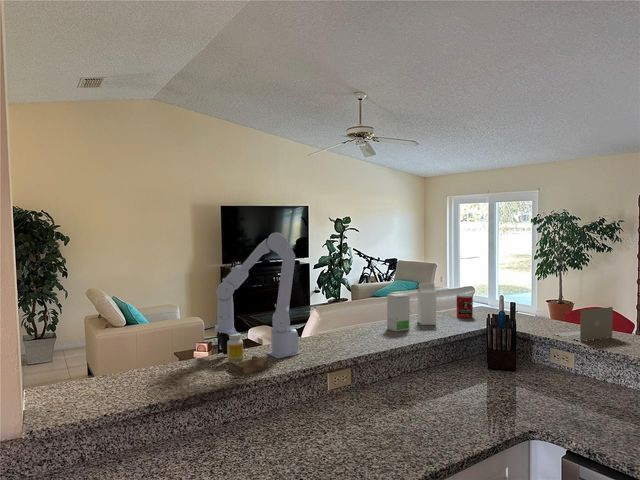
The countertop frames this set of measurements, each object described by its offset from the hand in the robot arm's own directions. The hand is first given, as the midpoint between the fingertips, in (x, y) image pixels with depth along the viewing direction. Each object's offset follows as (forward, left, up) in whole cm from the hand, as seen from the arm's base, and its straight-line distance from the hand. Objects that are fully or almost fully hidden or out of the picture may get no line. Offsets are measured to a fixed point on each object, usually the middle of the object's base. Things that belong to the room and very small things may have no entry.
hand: (226, 353), depth 161 cm
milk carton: (-97, +9, -1) cm, 97 cm away
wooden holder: (0, +17, -1) cm, 17 cm away
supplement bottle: (0, +8, -1) cm, 8 cm away
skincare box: (-78, +9, -1) cm, 79 cm away
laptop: (-129, +64, -2) cm, 144 cm away
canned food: (-123, +11, -1) cm, 123 cm away
